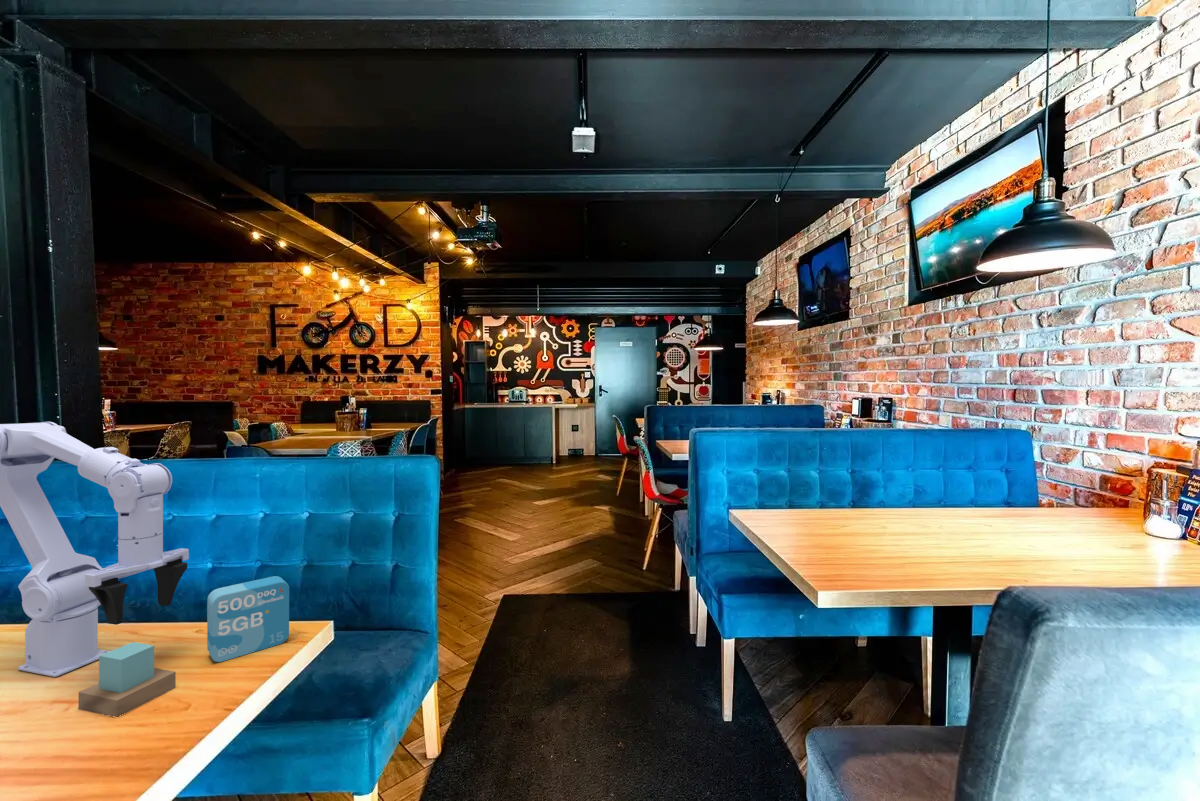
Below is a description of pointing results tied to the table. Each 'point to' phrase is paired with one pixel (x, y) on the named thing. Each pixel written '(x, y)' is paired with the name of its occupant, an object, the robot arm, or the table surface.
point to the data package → (247, 618)
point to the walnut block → (126, 695)
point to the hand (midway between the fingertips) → (140, 613)
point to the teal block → (126, 667)
